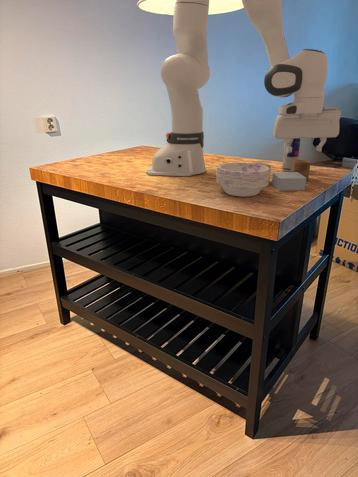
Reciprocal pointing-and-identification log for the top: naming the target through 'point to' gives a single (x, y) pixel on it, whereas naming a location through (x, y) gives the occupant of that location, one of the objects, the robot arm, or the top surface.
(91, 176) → the top surface
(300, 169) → the walnut block
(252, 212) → the top surface
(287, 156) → the energy drink
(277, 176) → the base block
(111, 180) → the top surface
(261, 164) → the beech block
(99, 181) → the top surface
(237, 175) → the paper bowls
